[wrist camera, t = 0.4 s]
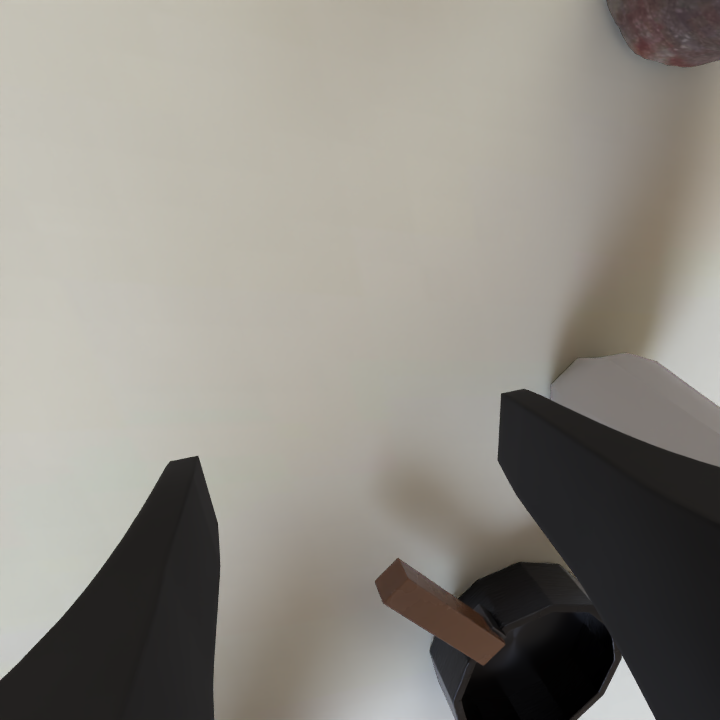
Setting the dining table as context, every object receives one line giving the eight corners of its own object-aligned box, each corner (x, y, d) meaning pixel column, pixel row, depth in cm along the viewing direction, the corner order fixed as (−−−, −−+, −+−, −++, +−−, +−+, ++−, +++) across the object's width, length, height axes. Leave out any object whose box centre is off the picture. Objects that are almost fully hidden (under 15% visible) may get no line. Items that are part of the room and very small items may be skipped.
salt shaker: (651, 355, 27) (992, 501, 15) (602, 452, 28) (880, 656, 16) (562, 326, 25) (875, 468, 13) (514, 432, 26) (759, 646, 15)
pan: (611, 608, 33) (658, 659, 29) (499, 716, 34) (532, 778, 30) (440, 464, 26) (475, 510, 22) (303, 605, 27) (317, 670, 23)
